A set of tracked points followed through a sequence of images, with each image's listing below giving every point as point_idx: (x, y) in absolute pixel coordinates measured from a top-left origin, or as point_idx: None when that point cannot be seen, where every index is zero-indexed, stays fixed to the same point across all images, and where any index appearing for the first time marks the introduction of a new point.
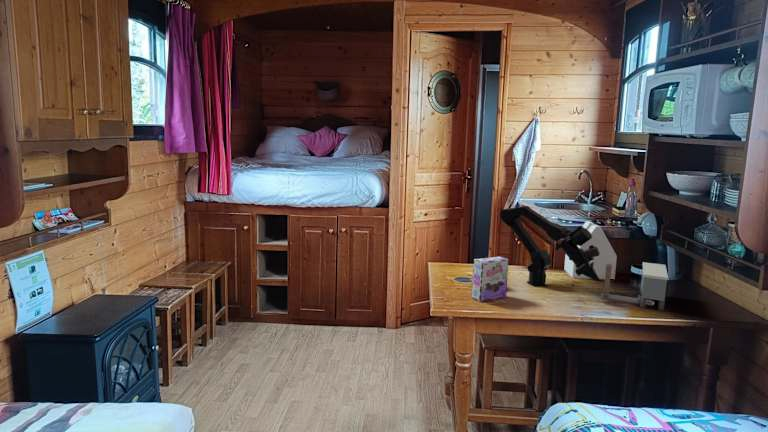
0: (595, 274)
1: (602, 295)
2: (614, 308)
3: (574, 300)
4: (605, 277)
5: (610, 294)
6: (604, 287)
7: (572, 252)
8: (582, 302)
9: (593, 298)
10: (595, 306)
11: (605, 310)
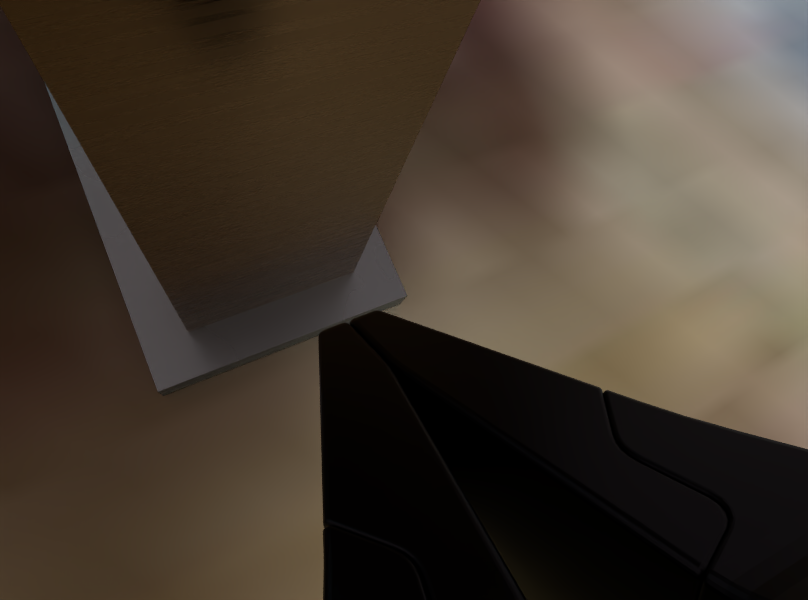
0: (574, 384)
1: (309, 303)
2: (619, 27)
3: None
4: (449, 49)
5: (123, 236)
6: (381, 200)
7: None
8: (774, 386)
9: None
10: (752, 202)
11: (763, 75)
